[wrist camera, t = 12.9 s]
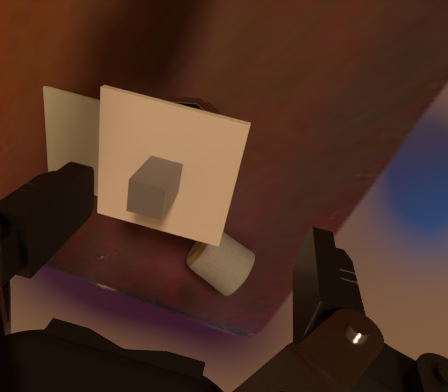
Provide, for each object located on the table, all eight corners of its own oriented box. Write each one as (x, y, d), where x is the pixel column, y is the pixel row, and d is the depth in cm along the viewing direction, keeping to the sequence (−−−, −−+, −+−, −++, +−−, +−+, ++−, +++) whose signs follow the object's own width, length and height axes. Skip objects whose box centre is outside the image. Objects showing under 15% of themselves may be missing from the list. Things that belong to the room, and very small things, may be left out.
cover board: (104, 84, 30) (66, 100, 25) (251, 122, 29) (242, 146, 24) (101, 209, 36) (70, 241, 31) (220, 242, 35) (208, 280, 30)
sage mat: (45, 85, 47) (43, 86, 46) (151, 113, 46) (149, 114, 45) (51, 181, 54) (48, 182, 54) (142, 205, 53) (140, 207, 53)
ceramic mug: (215, 214, 52) (203, 245, 45) (258, 244, 53) (253, 278, 47) (180, 255, 57) (165, 288, 51) (220, 281, 58) (210, 317, 52)
